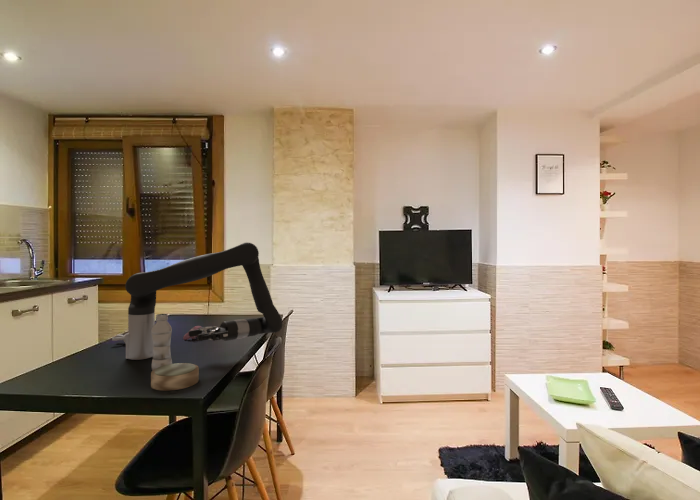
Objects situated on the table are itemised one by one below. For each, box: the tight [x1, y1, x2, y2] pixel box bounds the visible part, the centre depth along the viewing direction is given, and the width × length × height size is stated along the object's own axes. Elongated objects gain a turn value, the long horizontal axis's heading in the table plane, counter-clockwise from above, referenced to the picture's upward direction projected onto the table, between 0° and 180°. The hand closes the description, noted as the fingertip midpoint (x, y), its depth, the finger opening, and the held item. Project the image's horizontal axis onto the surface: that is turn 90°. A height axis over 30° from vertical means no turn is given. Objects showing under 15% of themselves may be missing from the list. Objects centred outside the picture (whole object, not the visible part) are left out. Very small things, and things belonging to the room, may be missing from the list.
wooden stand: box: [150, 362, 200, 392], centre depth 125 cm, size 14×14×4 cm
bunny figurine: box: [111, 333, 127, 345], centre depth 175 cm, size 10×5×15 cm
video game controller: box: [182, 325, 204, 341], centre depth 186 cm, size 10×5×7 cm, turn 169°
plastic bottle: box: [150, 313, 173, 371], centre depth 135 cm, size 6×7×20 cm
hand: (193, 335), depth 143 cm, fingers open, 8 cm apart
